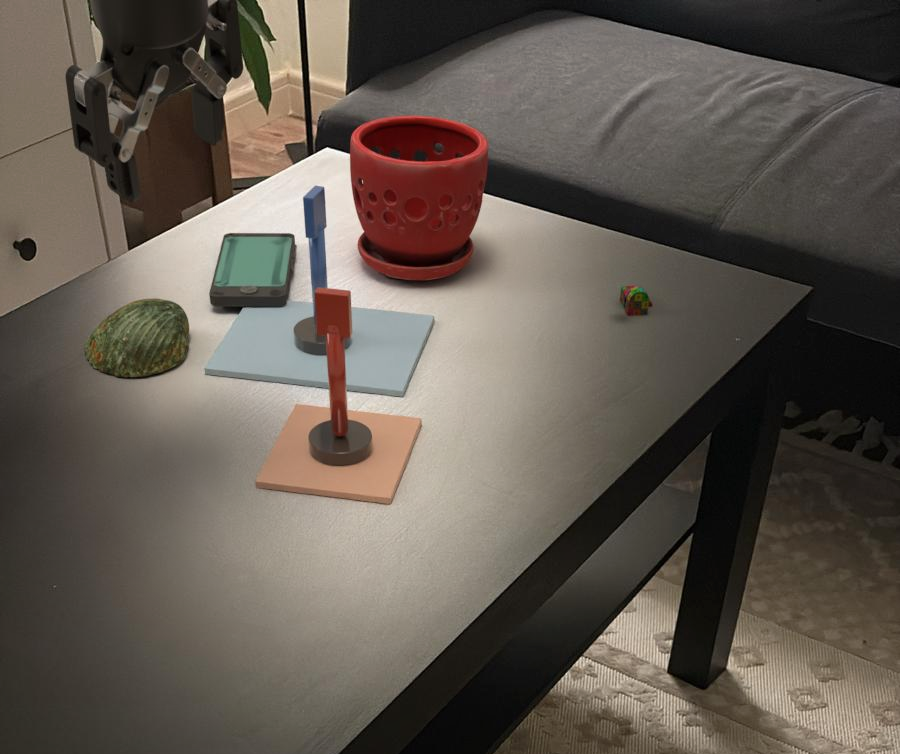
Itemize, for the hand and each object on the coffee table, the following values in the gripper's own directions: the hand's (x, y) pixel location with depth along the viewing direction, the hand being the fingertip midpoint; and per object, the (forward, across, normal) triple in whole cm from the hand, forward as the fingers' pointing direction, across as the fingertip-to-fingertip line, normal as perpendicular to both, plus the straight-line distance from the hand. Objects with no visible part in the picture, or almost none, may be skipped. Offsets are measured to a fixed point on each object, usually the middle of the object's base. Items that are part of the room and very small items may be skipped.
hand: (168, 166), depth 95 cm
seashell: (+23, 0, -6) cm, 24 cm away
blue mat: (+22, -11, +6) cm, 25 cm away
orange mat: (+16, +1, +18) cm, 24 cm away
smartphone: (+26, -17, -8) cm, 32 cm away
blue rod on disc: (+21, -11, +6) cm, 24 cm away
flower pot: (+26, -30, +2) cm, 40 cm away
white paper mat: (+22, -36, +24) cm, 48 cm away
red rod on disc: (+15, +1, +18) cm, 24 cm away
